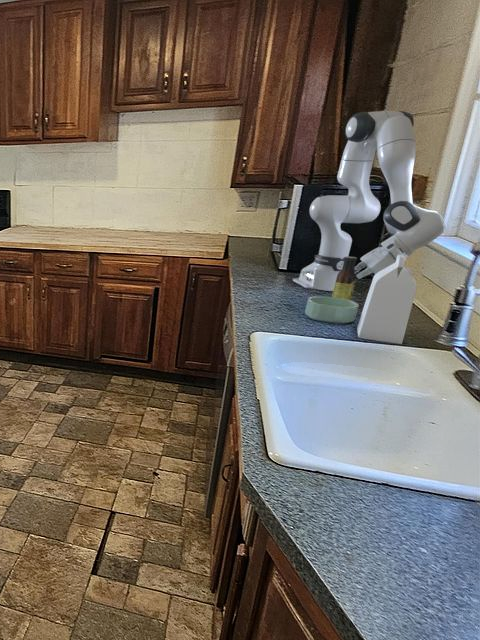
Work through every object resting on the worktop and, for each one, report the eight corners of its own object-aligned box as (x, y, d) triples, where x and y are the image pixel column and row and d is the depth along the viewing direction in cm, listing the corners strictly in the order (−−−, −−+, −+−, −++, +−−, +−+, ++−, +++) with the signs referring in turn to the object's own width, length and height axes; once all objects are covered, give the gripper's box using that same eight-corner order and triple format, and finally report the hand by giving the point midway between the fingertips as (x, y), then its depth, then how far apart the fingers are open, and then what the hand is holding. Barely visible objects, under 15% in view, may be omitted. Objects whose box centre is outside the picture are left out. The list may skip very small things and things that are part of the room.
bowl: (295, 312, 197) (298, 296, 194) (334, 311, 198) (338, 295, 196) (322, 325, 182) (326, 308, 180) (364, 324, 184) (369, 307, 181)
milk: (356, 327, 179) (377, 251, 170) (398, 333, 174) (421, 254, 164) (358, 337, 170) (380, 257, 160) (401, 344, 164) (427, 261, 155)
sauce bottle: (350, 312, 197) (364, 259, 190) (332, 311, 198) (345, 258, 191) (344, 307, 203) (357, 256, 195) (326, 306, 204) (338, 255, 197)
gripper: (381, 239, 196) (344, 263, 203) (395, 247, 179) (354, 273, 186) (392, 252, 196) (355, 275, 203) (406, 261, 179) (365, 287, 186)
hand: (354, 274), depth 194 cm, fingers open, 8 cm apart
